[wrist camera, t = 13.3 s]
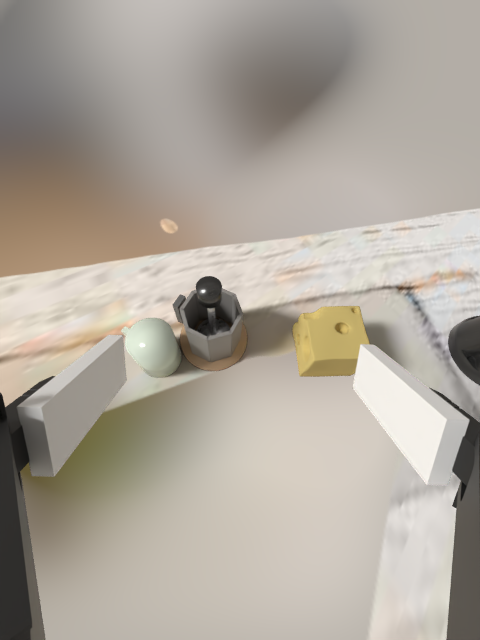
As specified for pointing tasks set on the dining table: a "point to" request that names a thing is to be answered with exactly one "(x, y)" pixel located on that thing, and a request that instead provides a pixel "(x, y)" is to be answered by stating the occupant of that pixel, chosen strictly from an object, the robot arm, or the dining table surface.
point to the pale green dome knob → (153, 347)
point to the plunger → (210, 305)
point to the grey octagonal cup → (215, 348)
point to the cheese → (329, 341)
